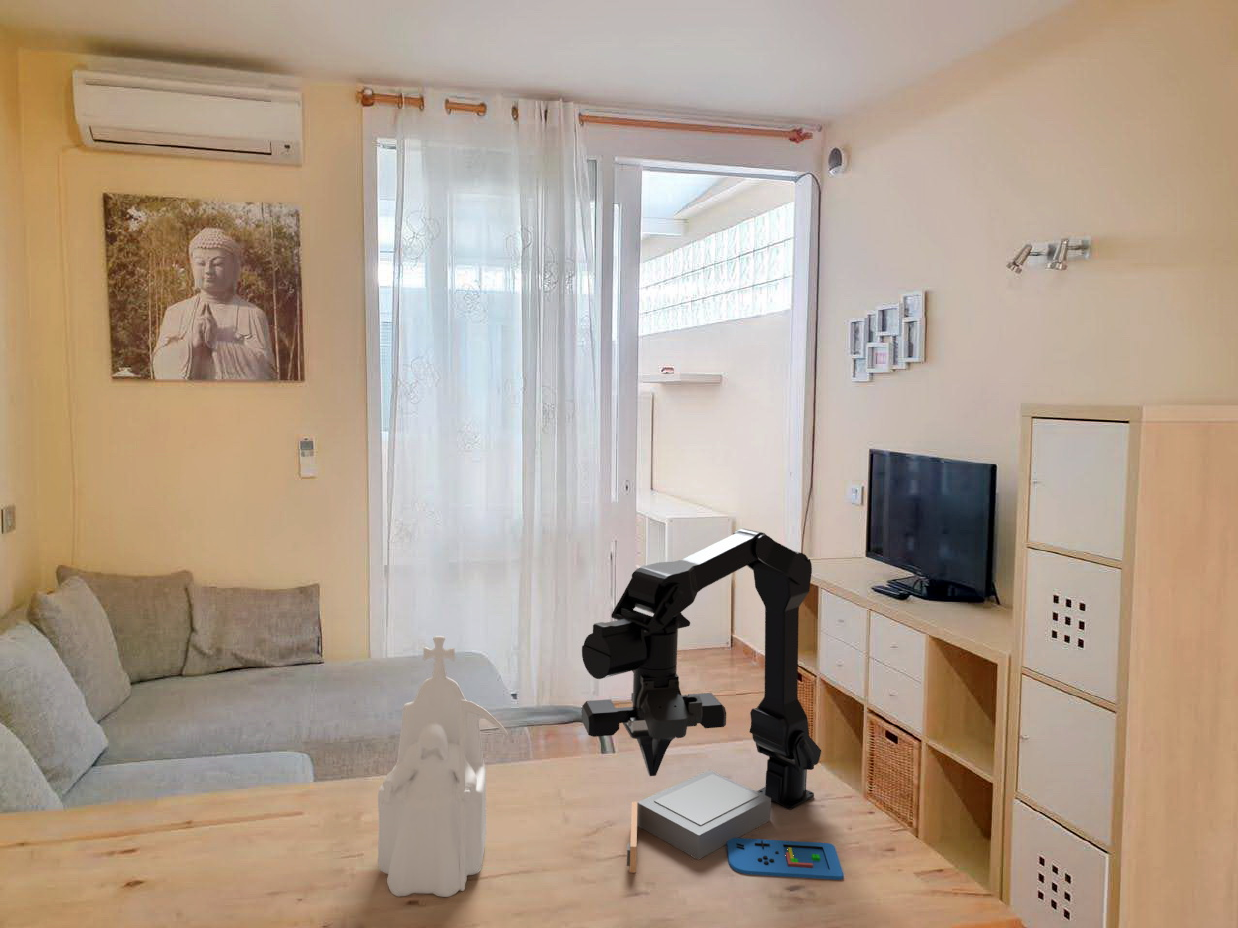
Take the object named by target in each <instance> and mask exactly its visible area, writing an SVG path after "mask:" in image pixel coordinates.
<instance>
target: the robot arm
mask: <svg viewBox="0 0 1238 928" xmlns="http://www.w3.org/2000/svg"><path fill="white" fill-rule="evenodd" d="M745 567H747V568H748V569H749V568H750V570H752V571H753V577H754V578H753V580H754V587H755V590H756V592H757V593H758V596H759V597H760V599H761V601H762V603H763V605H764V612H765V613H764V615H765V616H764V694H763V698H762V699H761V701H760V703H759V704H758V705H757V707H755V708H752V709H751V710H750V729H749V733H750V734H751V735H752V740H753V741H754V743H755V747H756V751H757V753H758V754H762V755H765V756H767V757H768V759H767V761H766V763H767V764H766V771H765V786H763V787H762V788H760V789H758V790H757V792H759V793H761V794H763V795H766V796H768V797H770V798H771V802H774V803H775V804H778V805H780V806H781V807H785V808H787V809H790V810H792V809H794V808H796V807H797V806H800V805H802V804H803V803H805V802H807V801H809V800H811V799H812V798H814V797H815V793H814V792H812V791H811V790H808V789H807V779H808V777H807V776H808V774H807V773H808V770H809V771H812V770H814V768H815V766H816V765H818V764H819V761H820V758H821V755H822V749H821V748H820V747H819V746H818V744H817V743H816V742H815V741H814V739H812V737H811V736H810V731H809V730H810V728H809V720H808V716H807V714H806V711H805V710H804V708H803V706H802V704H801V702H800V700H799V698H798V696H799V695H798V688H799V687H798V686H799V685H798V684H799V683H798V682H799V681H798V679H799V677H798V676H799V674H798V673H799V614H800V613H799V609H800V606H801V605H802V603H803V602H804V600H805V598H806V597H807V596H808V594H809V593H810V590H811V589H810V588H811V581H812V580H811V579H812V574H813V573H812V572H813V566H812V561H811V559H810V558H808V556H807V555H806V554H805V553H803V552H798V551H795V550H793V549H790V548H789V547H787V546H785V545H783V544H781V543H779V542H778V541H775V540H774V539H773V538H772V537H770V536H769V535H767V534H766V533H765V532H761V531H757V530H752V529H747V528H741V529H736V531H734V532H733V533H732V534H731V535H729V536H728V537H725V538H724V539H721V540H719V541H717V542H715V543H712V544H710V545H709V546H707V547H704V548H703V549H700V550H698V551H696V552H695V553H692V554H689V556H686V557H684V558H681V559H679V560H675V561H673V560H672V561H661V562H655V563H652V564H651V563H650V564H647V565H642V566H639V567H638V568H637V569H636V570H634V571H633V572H632V573H631V579H629V582H628V584H627V586H626V587H625V590H624V591H623V592H622V595H621V596H620V598H619V600H618V602H617V604H616V606H615V607H614V609H613V611H612V613H611V616H610V617H611V619H613V621H609V622H603V621H602V622H601V621H600V622H596V623H593V625H592V633H589V634H588V635H587V636H586V638H585V639H584V643H583V645H582V646H581V657H582V662H583V664H584V667H585V669H586V671H587V672H588V673H589V675H590V676H591V677H593V678H594V679H598V680H601V679H606V678H609V677H613V676H618V675H620V674H625V673H629V672H632V673H633V677H632V678H633V680H632V683H633V684H632V692H631V697H630V698H631V699H630V700H631V702H632V706H626V707H624V706H623V707H616V706H615V704H614V702H613V701H612V699H596V700H586V701H585V702H584V703H583V704H582V706H581V716H580V717H581V719H580V720H581V722H582V724H583V726H584V729H585V730H586V732H587V734H588V736H590V737H592V738H596V737H606V736H607V737H608V736H614V735H615V734H616V733H617V732H618V731H619V730H620V724H623V726H624V728H625V730H626V731H627V733H628V735H629V736H630V738H632V739H636V741H637V743H638V746H639V749H640V752H641V754H642V755H641V756H642V759H643V761H644V764H645V767H646V771H647V774H648V775H649V777H656V776H657V774H658V771H659V769H660V766H661V763H662V762H663V759H664V757H665V754H666V751H667V749H669V746H670V744H671V743H672V741H673V740H674V739H675V738H676V739H682V738H684V737H686V735H687V730H688V728H689V727H697V726H698V724H700V725H701V726H702V727H703V728H704V729H716V728H717V729H718V728H724V727H726V726H727V710H726V707H725V705H723V704H722V702H720V700H719V699H718V698H717V697H716V696H715V694H713V693H712V692H705V693H704V692H703V693H702V692H701V693H690V694H689V693H688V694H682V692H681V689H680V681H679V675H678V673H677V667H678V666H677V665H678V664H677V663H678V640H679V639H678V638H679V637H678V636H679V629H682V628H687V627H690V626H691V621H690V620H689V619H688V618H687V617H685V615H683V614H682V612H684V611H685V610H686V609H687V608H688V607H690V606H691V605H692V604H693V603H694V601H695V600H696V598H697V595H698V593H699V592H700V591H701V590H703V589H705V588H706V587H708V586H711V585H712V584H715V583H716V582H719V581H720V580H722V579H723V578H726V577H728V576H729V575H731V574H733V573H735V572H737V571H739V570H741V569H743V568H745ZM636 608H637V609H640V610H643V611H646V612H649V613H652V614H653V615H649V614H647V613H643V612H641V611H637V610H635V609H636Z"/></svg>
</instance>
